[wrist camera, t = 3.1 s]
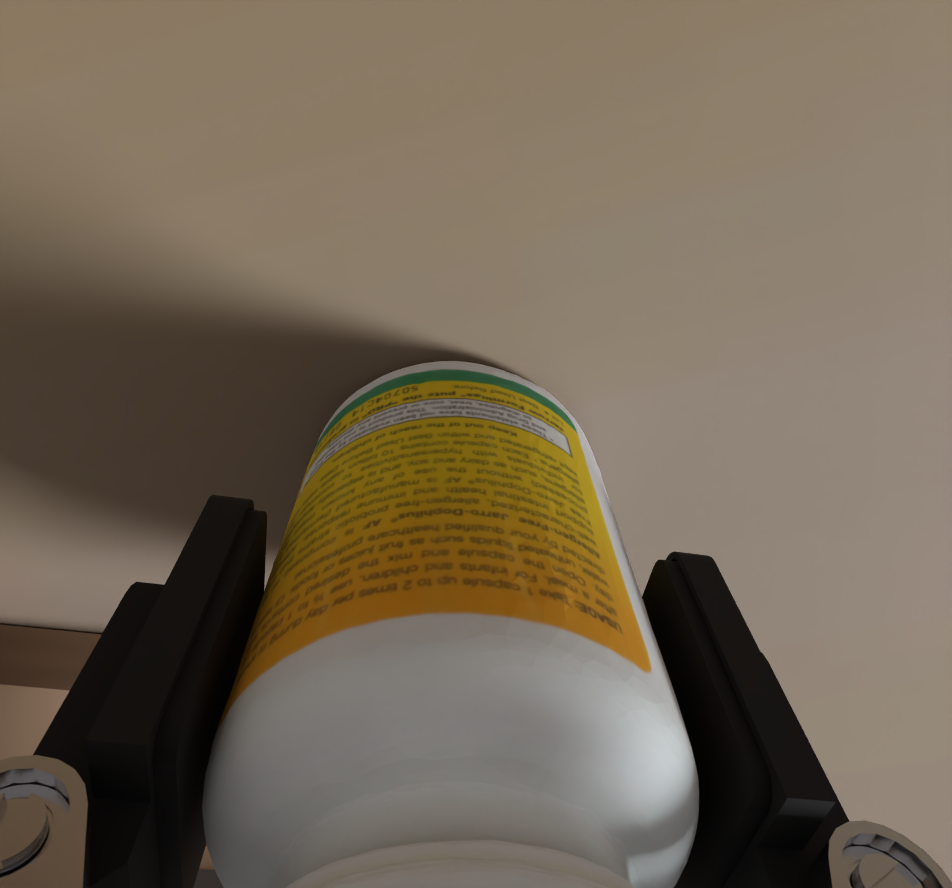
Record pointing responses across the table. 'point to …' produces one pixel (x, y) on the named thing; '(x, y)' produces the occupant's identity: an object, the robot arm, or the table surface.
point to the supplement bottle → (451, 664)
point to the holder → (47, 694)
